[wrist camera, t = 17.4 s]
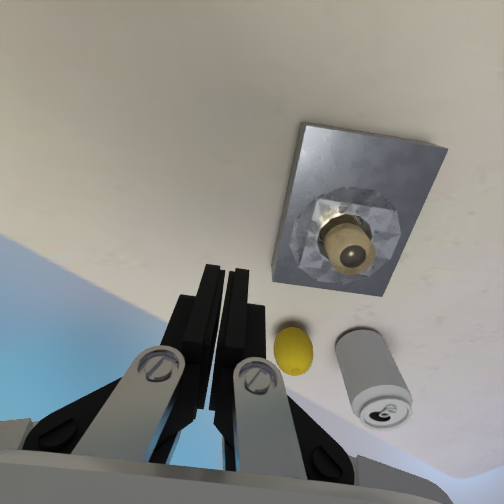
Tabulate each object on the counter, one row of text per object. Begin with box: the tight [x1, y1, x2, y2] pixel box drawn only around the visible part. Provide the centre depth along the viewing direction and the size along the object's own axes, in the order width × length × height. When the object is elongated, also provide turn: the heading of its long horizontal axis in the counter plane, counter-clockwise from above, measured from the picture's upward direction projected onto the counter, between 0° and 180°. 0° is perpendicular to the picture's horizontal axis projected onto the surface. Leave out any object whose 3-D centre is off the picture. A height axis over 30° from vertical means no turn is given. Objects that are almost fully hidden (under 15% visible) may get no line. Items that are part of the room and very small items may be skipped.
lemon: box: [274, 327, 313, 376], centre depth 42 cm, size 6×6×8 cm
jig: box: [271, 122, 448, 297], centre depth 34 cm, size 18×14×4 cm
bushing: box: [319, 214, 376, 275], centre depth 34 cm, size 4×4×8 cm
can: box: [335, 330, 412, 430], centre depth 41 cm, size 8×8×12 cm
